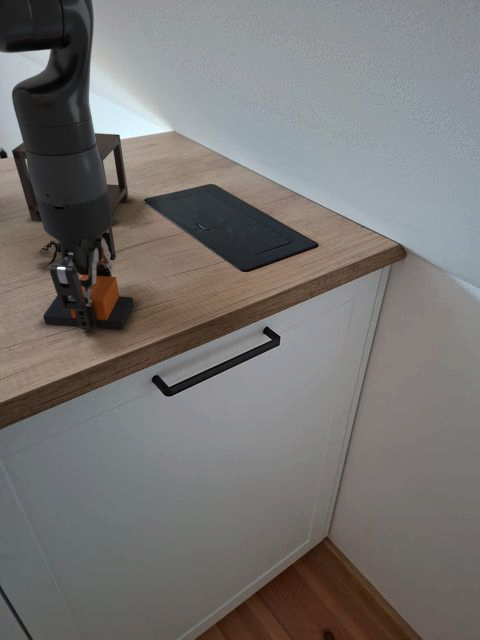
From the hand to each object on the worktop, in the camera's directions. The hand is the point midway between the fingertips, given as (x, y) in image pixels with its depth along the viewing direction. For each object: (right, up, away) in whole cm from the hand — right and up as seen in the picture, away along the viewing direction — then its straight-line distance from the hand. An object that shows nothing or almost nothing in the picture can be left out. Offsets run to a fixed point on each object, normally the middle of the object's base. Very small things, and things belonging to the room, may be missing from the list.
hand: (98, 311), depth 64 cm
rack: (-11, +20, +25) cm, 34 cm away
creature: (-9, +9, +12) cm, 17 cm away
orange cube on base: (-1, -1, +1) cm, 1 cm away
